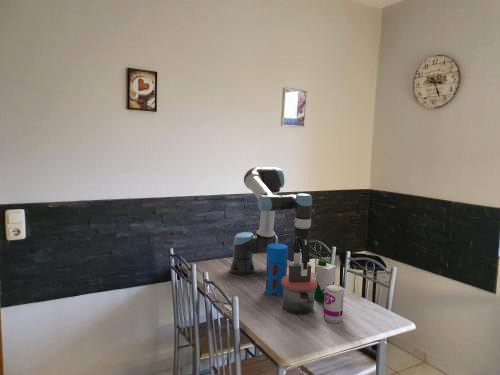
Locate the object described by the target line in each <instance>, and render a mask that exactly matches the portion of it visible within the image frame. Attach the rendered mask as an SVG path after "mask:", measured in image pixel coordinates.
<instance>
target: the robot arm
mask: <svg viewBox="0 0 500 375" xmlns="http://www.w3.org/2000/svg"><path fill="white" fill-rule="evenodd" d="M284 175H285V174H284V171H283V170H282V169H281V168H280V167H253V168H250V169H249V170H247V171H246V172H245V174H244V176H243V182H244V185H245V187H246V188H247V189H248V190H250V191H251V192H252V193H253V195H255V198H257V206H258V207H257V208H258V210H259V211H260V219H259V228H258V230H256V232H255V234H254V233H253V232H251V231H250V232H247V231H245V232H239V233H237V234H236V235H235V236H234V237H233V238H234V239H233V258H232V261H231V264H230V268H229V271H230V273H232V274H233V275H237V276H250V275H252V274H254V273H255V272H256V271H255V270H256V267H255V264H254V260H253V259H254V258H253V255H264V254H265V255H267V247H268V245H269V244H274V243H278V244H279V238H278V236H277V234H276V232H275V231H274V229H275V228H274V226H275V219H276V218H275V217H276V216H275V215H276V212H289V211H290V212H291V211H292V212H294V220H293V223H294V228H293V230H294V231H293V234H294V235H295V237H294V242H293V247H292V250H293V252H294V253H293V264H301V276H307V268H308V264H309V263H310V262H311V259H310V250H309V249H310V248H309V247H310V246H309V241H310V240H308V239H307V237H310V235H311V228H310V227H311V226H312V211H313V210H312V206H313V196H312V194H309V193H297V194H294V193H293V194H291V193H290V194H287V195H279V193H280V191H281V188H284V186H285V176H284ZM300 257H301V261H300Z"/></svg>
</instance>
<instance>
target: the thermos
mask: <svg viewBox="0 0 500 375" xmlns="http://www.w3.org/2000/svg"><path fill="white" fill-rule="evenodd" d="M288 252H289V248H288V245H287V244H284V243H279V242H278V243H274V244H269V245H268V247H267V254H266V266H265V267H266V268H265V270H266V272H265V293H266V294H268V295H270V296H275V297H276V296H277V297H279V296H281V297H282V296H283V285H282V284H281V280H282V278H283V277H285V276H288V275H287V274H288V257H289V253H288Z"/></svg>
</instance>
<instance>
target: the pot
mask: <svg viewBox="0 0 500 375" xmlns="http://www.w3.org/2000/svg"><path fill="white" fill-rule="evenodd" d="M314 296H315V289H314V290H311V291H295V290H291V289H288V288H285V287H284V286H283V295H282V304H281V305H282V307H281V308H282V310H284V312H286V313H288V314H290V315H295V316H308V315H310V314H312V313H314V310H315V299H314Z"/></svg>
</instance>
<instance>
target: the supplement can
mask: <svg viewBox="0 0 500 375" xmlns="http://www.w3.org/2000/svg"><path fill="white" fill-rule="evenodd" d="M344 295H345V291H344V289H343V286H341V285H338V284H334V285H328V286H327V287H326V289H325V301H324V303H323V319H325V321H327V322H329V323H333V324H336V323H340V322H341V321H343V312H344V311H343V310H344V297H345V296H344Z"/></svg>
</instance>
